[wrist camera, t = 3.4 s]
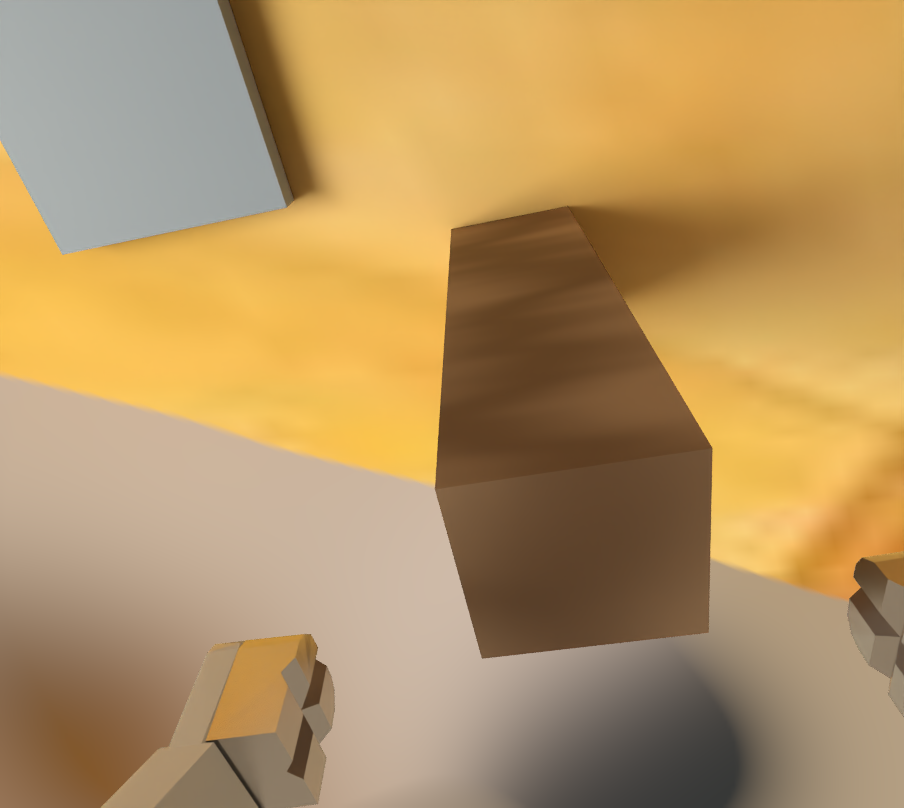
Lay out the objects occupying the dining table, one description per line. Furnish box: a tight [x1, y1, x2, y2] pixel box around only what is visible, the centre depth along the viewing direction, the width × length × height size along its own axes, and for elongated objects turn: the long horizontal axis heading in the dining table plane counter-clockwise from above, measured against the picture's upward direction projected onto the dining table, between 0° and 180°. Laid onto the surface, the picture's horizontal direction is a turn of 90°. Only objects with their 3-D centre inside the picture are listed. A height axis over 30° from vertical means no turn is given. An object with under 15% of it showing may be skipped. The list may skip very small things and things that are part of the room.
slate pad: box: [0, 0, 294, 255], centre depth 19 cm, size 8×8×1 cm
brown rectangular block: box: [435, 206, 712, 658], centre depth 16 cm, size 4×4×14 cm
